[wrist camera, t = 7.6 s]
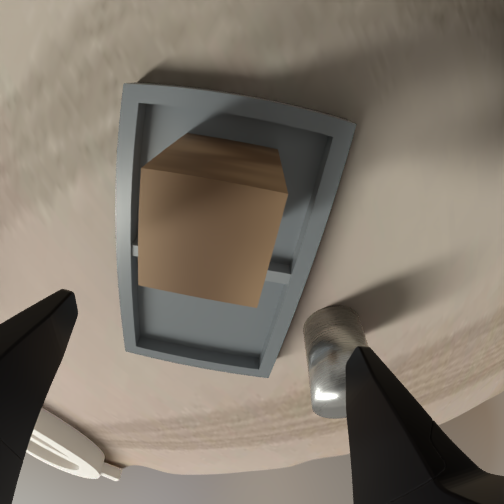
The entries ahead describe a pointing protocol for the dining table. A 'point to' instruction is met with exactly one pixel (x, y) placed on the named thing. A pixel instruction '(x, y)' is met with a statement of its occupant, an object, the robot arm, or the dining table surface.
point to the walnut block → (210, 218)
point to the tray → (288, 238)
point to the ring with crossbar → (68, 449)
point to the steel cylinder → (331, 356)
